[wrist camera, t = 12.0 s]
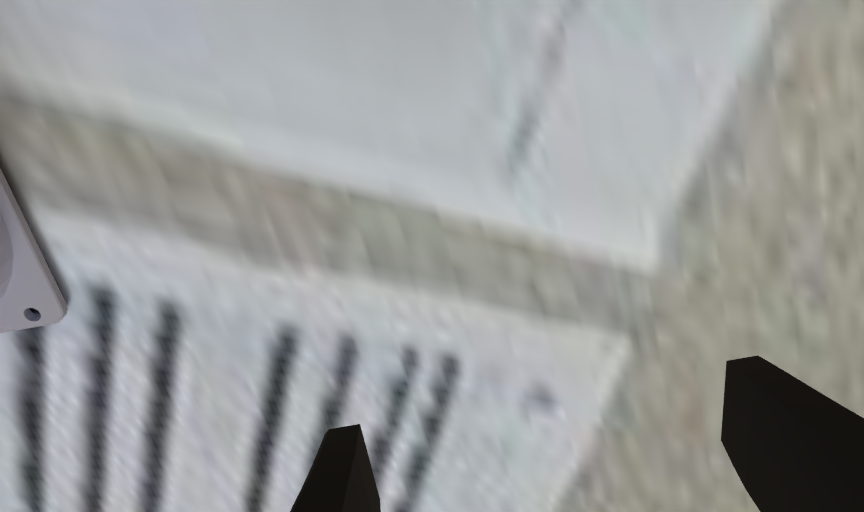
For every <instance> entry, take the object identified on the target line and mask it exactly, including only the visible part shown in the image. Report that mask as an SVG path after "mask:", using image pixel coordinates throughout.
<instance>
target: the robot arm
mask: <svg viewBox="0 0 864 512" xmlns="http://www.w3.org/2000/svg"><path fill="white" fill-rule="evenodd" d="M30 308H34V309H36V310H38V311H39V312H40V315H36V314H34V313H32V312H31V310H30ZM66 313H67V305H66V302H65V300H64V298H63V296H62V294H61V292H60V290H59V288H58V286H57V284H56V282H55V280H54V278H53V275H52V273H51V271H50V269H49V267H48V265H47V263H46V261H45V259H44V257H43V255H42V253H41V251H40V249H39V247H38V245H37V242H36V240H35V238H34V236H33V234H32V232H31V230H30V228H29V226H28V224H27V222H26V220H25V218H24V216H23V214H22V212H21V210H20V207H19V205H18V203H17V201H16V199H15V197H14V195H13V193H12V191H11V189H10V187H9V185H8V183H7V181H6V179H5V177H4V175H3V172H2V170H1V168H0V333H3V332H9V331H15V330H21V329H27V328H32V327H38V326H44V325H50V324H55V323H58V322H60V321H61V320H62V319H63V317H64V316H65V315H66ZM721 441H722V443H723V445H724V447H725V449H726V451H727V453H728V456H729V458H730V460H731V462H732V464H733V466H734V468H735V470H736V472H737V474H738V476H739V477H740V479H741V481H742V483H743V485H744V487H745V489H746V490H747V492H748V493H749V495H750V496H751V498H752V500H753V501H754V503H755V504H756V506H757V507H758V509H759V510H760V512H864V418H862V417H860V416H859V415H857V414H855V413H854V412H852V411H850V410H848V409H847V408H845V407H843V406H841V405H840V404H838V403H836V402H835V401H833V400H831V399H830V398H828V397H826V396H825V395H823V394H821V393H820V392H818V391H816V390H815V389H813V388H811V387H810V386H808V385H806V384H805V383H803V382H801V381H800V380H798V379H797V378H795V377H793V376H792V375H790V374H788V373H787V372H785V371H783V370H782V369H780V368H778V367H777V366H775V365H773V364H772V363H770V362H768V361H766V360H765V359H763V358H761V357H759V356H753V357H747V358H741V359H735V360H730V361H727V363H726V377H725V391H724V406H723V420H722V434H721ZM290 512H381V510H380V498H379V494H378V490H377V487H376V483H375V479H374V475H373V472H372V468H371V464H370V460H369V457H368V453H367V449H366V445H365V442H364V438H363V434H362V430H361V427H360V424H358V425H352V426H346V427H340V428H334V429H329V430H328V431H327V432H326V434H325V435H324V438H323V440H322V443H321V445H320V448H319V450H318V453H317V455H316V458H315V460H314V462H313V465H312V467H311V469H310V471H309V474H308V476H307V478H306V480H305V482H304V485H303V487H302V489H301V491H300V493H299V495H298V497H297V499H296V501H295V503H294V505H293V507H292V509H291V511H290Z"/></svg>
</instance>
